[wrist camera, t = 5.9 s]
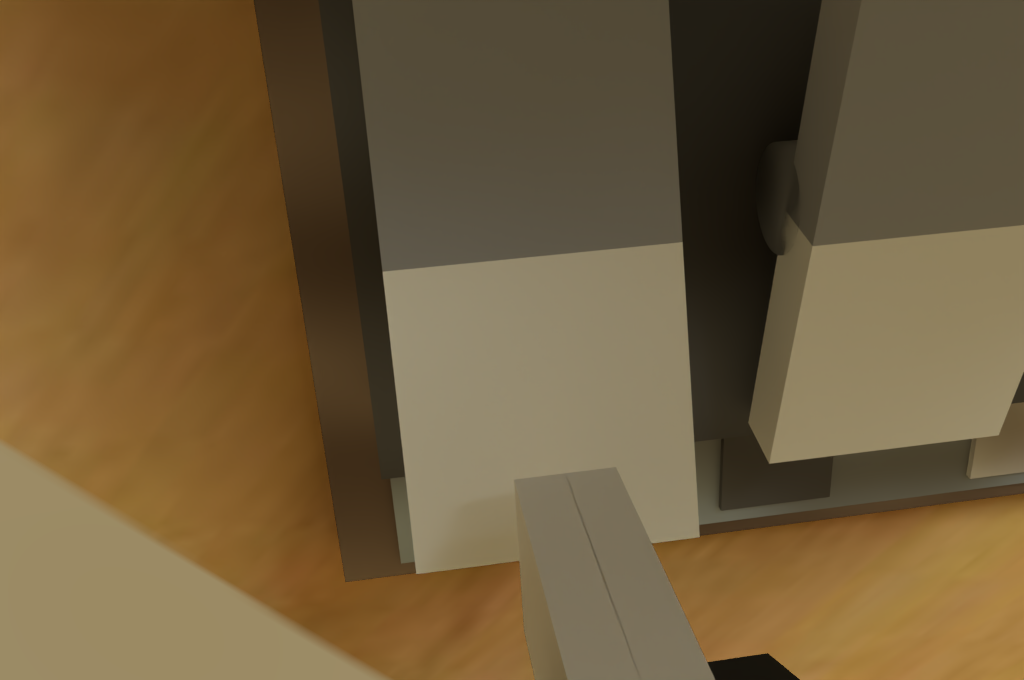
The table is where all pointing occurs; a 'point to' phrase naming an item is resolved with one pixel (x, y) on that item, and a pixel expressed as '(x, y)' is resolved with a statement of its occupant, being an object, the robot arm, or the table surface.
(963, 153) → the middle rocker
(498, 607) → the table surface
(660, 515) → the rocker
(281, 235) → the table surface
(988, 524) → the table surface
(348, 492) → the switch console
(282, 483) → the table surface
